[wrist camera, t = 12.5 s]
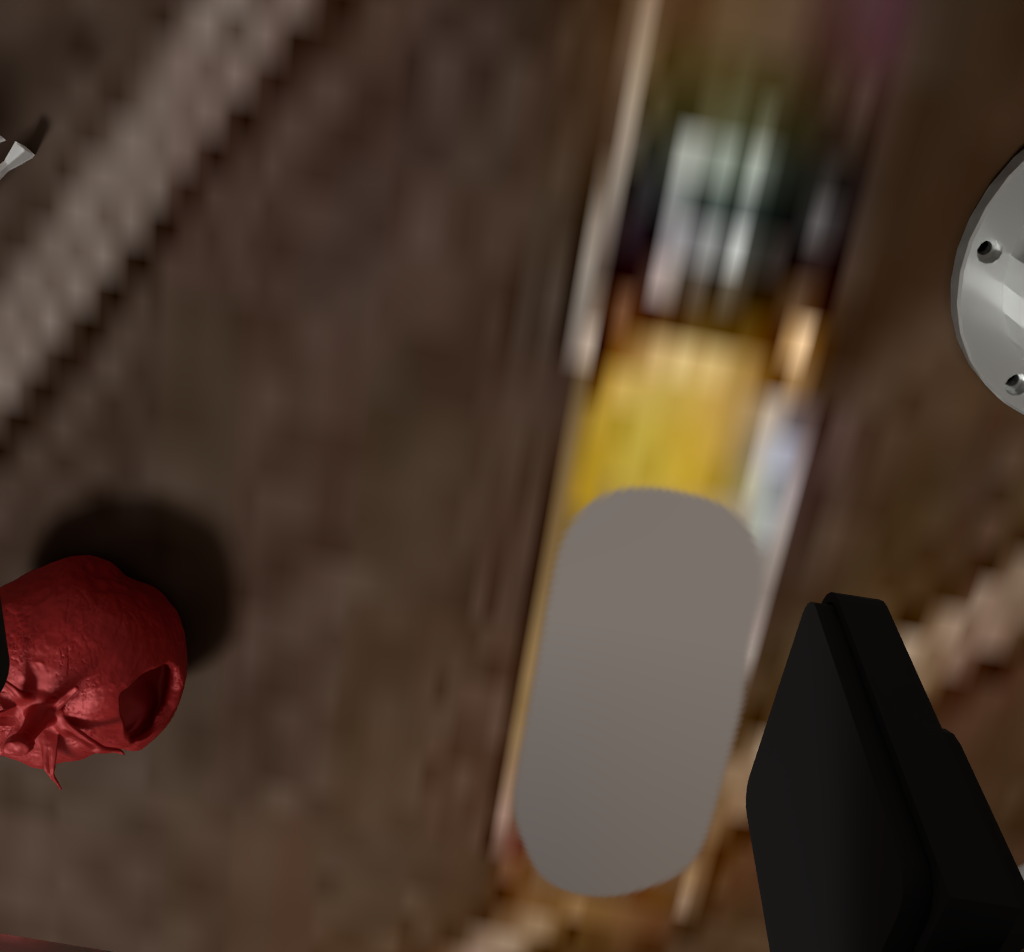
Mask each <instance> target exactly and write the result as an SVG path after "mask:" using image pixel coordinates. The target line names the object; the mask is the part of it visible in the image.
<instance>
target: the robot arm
mask: <svg viewBox="0 0 1024 952" xmlns="http://www.w3.org/2000/svg"><path fill="white" fill-rule="evenodd" d="M986 240H987V241H988V246H987V247H986V249H985V250H983V251H982V252H977V249H978V248H979V246H980V245H981V243H983V242H985V241H986ZM951 315H952V319H953V324H954V328H955V333H956V337H957V341H958V343H959V345H960V347H961V349H962V351H963V353H964V355H965V357H966V359H967V361H968V363H969V365H970V367H971V368H972V369H973V370H974V371H975V373H976V374H977V375H978V376H979V378H980V379H981V380H982V381H983V383H984V384H985V385H986V386H987V387H988V388H989V389H990V390H991V391H992V392H993V393H994V394H995V395H996V396H997V397H998V398H999V399H1000V400H1001V401H1003V402H1004V403H1005V404H1007V405H1008V406H1010V407H1012V408H1013V409H1015V410H1017V411H1018V412H1020V413H1022V414H1023V415H1024V149H1023V150H1022V151H1020V152H1019V153H1018V154H1017V155H1016V156H1015V157H1014V158H1013V159H1012V160H1011V161H1010V162H1009V163H1008V165H1007V166H1006V167H1005V168H1004V169H1003V170H1002V172H1001V173H1000V174H999V175H998V176H997V177H996V179H995V180H994V181H993V182H992V183H991V185H990V186H989V187H988V189H987V190H986V192H985V193H984V195H983V197H982V198H981V200H980V202H979V203H978V205H977V207H976V208H975V210H974V212H973V213H972V215H971V217H970V218H969V221H968V223H967V226H966V228H965V231H964V233H963V236H962V238H961V241H960V244H959V246H958V249H957V252H956V257H955V262H954V267H953V273H952V278H951ZM1013 375H1015V376H1014V378H1013V379H1012V380H1011V381H1009V382H1007V380H1008V379H1009V378H1010V377H1012V376H1013ZM9 668H10V659H9V652H8V645H7V639H6V632H5V625H4V618H3V611H2V604H1V598H0V692H1V691H2V689H3V687H4V685H5V683H6V681H7V677H8V674H9ZM746 811H747V818H748V824H749V830H750V836H751V841H752V847H753V853H754V859H755V865H756V871H757V877H758V883H759V889H760V894H761V900H762V906H763V912H764V918H765V924H766V930H767V936H768V942H769V947H770V952H1024V880H1023V878H1022V876H1021V874H1020V871H1019V869H1018V867H1017V865H1016V863H1015V861H1014V859H1013V856H1012V854H1011V852H1010V850H1009V848H1008V846H1007V843H1006V841H1005V839H1004V837H1003V835H1002V833H1001V831H1000V828H999V826H998V824H997V822H996V820H995V818H994V815H993V813H992V811H991V809H990V807H989V805H988V803H987V800H986V798H985V796H984V794H983V792H982V790H981V787H980V785H979V783H978V781H977V779H976V777H975V775H974V772H973V770H972V768H971V766H970V764H969V762H968V760H967V757H966V755H965V753H964V751H963V749H962V747H961V745H960V743H959V742H958V740H957V739H956V737H955V735H954V734H953V733H951V732H949V731H948V730H946V729H942V728H941V725H940V723H939V721H938V719H937V717H936V714H935V712H934V710H933V708H932V705H931V703H930V701H929V699H928V697H927V694H926V692H925V690H924V688H923V685H922V683H921V681H920V679H919V677H918V674H917V672H916V670H915V668H914V665H913V663H912V661H911V659H910V657H909V654H908V652H907V650H906V648H905V645H904V643H903V641H902V639H901V637H900V634H899V632H898V630H897V628H896V625H895V623H894V621H893V619H892V616H891V614H890V612H889V610H888V608H887V606H886V604H885V603H884V601H882V600H879V599H872V598H866V597H859V596H853V595H846V594H840V593H833V592H831V593H829V594H827V595H826V597H825V598H824V599H823V601H822V604H820V603H814V602H810V603H808V604H807V606H806V607H805V609H804V612H803V614H802V617H801V621H800V624H799V627H798V630H797V633H796V636H795V639H794V642H793V645H792V648H791V651H790V654H789V657H788V660H787V663H786V666H785V669H784V672H783V676H782V679H781V682H780V685H779V688H778V691H777V694H776V697H775V700H774V703H773V706H772V709H771V712H770V715H769V718H768V721H767V724H766V727H765V730H764V734H763V737H762V740H761V743H760V746H759V749H758V752H757V755H756V758H755V761H754V764H753V767H752V770H751V773H750V776H749V780H748V785H747V792H746ZM0 952H111V951H105V950H99V949H93V948H86V947H80V946H74V945H68V944H62V943H56V942H49V941H43V940H37V939H31V938H25V937H18V936H12V935H6V934H0Z"/></svg>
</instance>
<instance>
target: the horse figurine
mask: <svg viewBox="0 0 1024 952" xmlns="http://www.w3.org/2000/svg"><path fill="white" fill-rule="evenodd" d="M3 141H5V139H4V138H3V137H2V136H1V135H0V143H1V142H3ZM34 156H35V154H33V153H32V152H31V151H30V150H29V149H28V148H27V147H26V146H24V145H22V144H20V143H18V142H16V141H15V143H14V145H13V146H12V148H11V150H10V152H9V153H8V155H7V157H6V158H5V160H4V161H3V162H2V163H1V164H0V180H1V179H2V178H3V176H4V175H5V174H6V173H7V172H8V171H10V170H12V169H14V168H15V167H17V166H19V165H21V164H23V163H25V162H26V161H28V160H30V159H32V158H33V157H34Z"/></svg>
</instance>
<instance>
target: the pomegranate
mask: <svg viewBox="0 0 1024 952" xmlns="http://www.w3.org/2000/svg"><path fill="white" fill-rule="evenodd" d="M0 598H1V604H2V611H3V618H4V625H5V632H6V639H7V645H8V652H9V659H10V668H9V674H8V677H7V681H6V683H5V685H4V687H3V689H2V691H1V692H0V756H2V755H3V756H6V757H8V758H11V759H14V760H17V761H20V762H23V763H24V764H26V765H28V766H30V767H33V768H39V769H44V770H45V772H46V773H47V774H48V775H49V777H50V778H51V779H52V780H53V781H54V782H55V783H56V784H57V786H58V787H59V789H60V790H61V789H62V788H61V786H60V784H59V782H58V781H57V779H56V777H55V774H54V771H55V764H57V763H61V762H68V761H77V760H81V759H84V758H86V757H88V756H90V755H92V754H94V753H119V754H123V755H124V752H123V751H122V750H121V749H124V750H129V751H138V750H141V749H142V748H144V747H145V746H146V745H148V744H149V743H150V742H151V741H153V740H154V739H155V738H156V737H157V736H158V735H159V734H160V733H161V732H162V731H163V730H164V729H165V728H166V726H167V725H168V723H169V722H170V721H171V719H172V717H173V716H174V713H175V711H176V710H177V706H178V704H179V702H180V699H181V696H182V693H183V690H184V685H185V680H186V675H187V648H186V638H185V632H184V629H183V626H182V622H181V619H180V617H179V614H178V612H177V611H176V609H175V608H174V607H173V606H172V605H171V604H170V602H169V601H168V599H167V598H166V597H165V596H164V595H163V594H162V593H161V592H160V591H159V590H158V589H157V588H155V587H153V586H151V585H149V584H146V583H143V582H140V581H137V580H135V579H133V578H130V577H128V576H126V575H125V574H123V573H122V571H121V570H120V569H119V568H118V567H117V566H115V565H114V564H113V563H112V562H110V561H108V560H105V559H102V558H99V557H96V556H92V555H79V556H71V557H66V558H63V559H61V560H58V561H54V562H52V563H49V564H47V565H45V566H43V567H40V568H38V569H34V570H32V571H30V572H28V573H26V574H24V575H23V576H21V577H20V578H18V579H16V580H14V581H12V582H10V583H8V584H6V585H4V586H2V587H1V588H0Z"/></svg>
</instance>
